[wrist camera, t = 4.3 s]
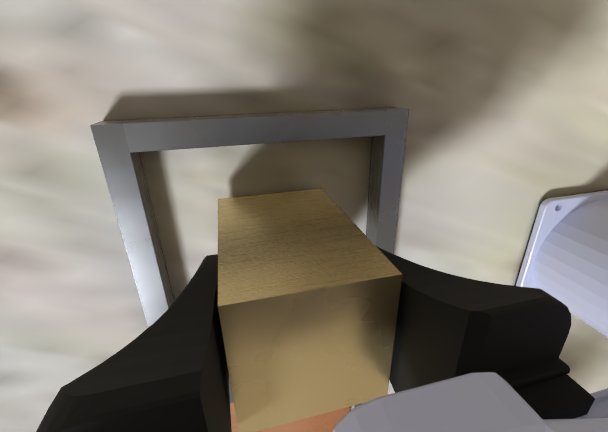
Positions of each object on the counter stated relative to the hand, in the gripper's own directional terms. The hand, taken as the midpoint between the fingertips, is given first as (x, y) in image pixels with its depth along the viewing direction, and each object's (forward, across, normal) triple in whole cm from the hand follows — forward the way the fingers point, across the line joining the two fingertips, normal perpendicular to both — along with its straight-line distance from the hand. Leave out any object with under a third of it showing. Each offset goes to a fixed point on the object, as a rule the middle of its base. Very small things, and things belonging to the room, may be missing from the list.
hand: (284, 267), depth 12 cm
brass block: (+2, 0, 0) cm, 2 cm away
